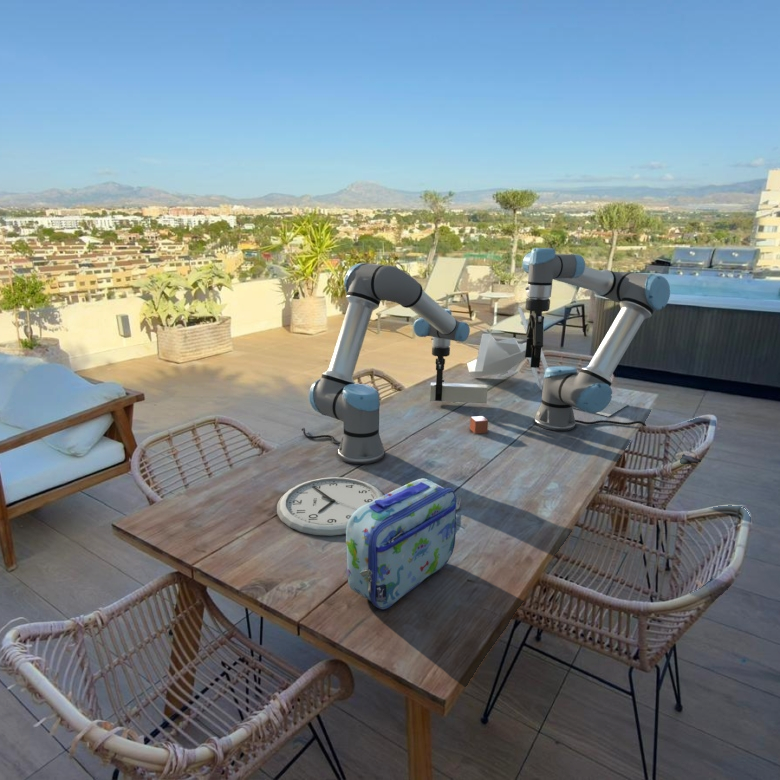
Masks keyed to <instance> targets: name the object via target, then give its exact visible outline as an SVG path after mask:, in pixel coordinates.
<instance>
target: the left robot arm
mask: <svg viewBox="0 0 780 780" xmlns="http://www.w3.org/2000/svg"><path fill="white" fill-rule="evenodd" d="M343 285H344V290H345V292H346V295H345V297H346V300H347V302H348V305H347V308H346V311H345V314H344V318H343V321H342V324H341V327H340V331H339V334H338V337H337V339H336V343H335V347H334V351H333V354H332V357H331V359H330V363H329V366H328V368H327V370H325V371H323V372H322V374H321V377H320V378H318V379H317V380H315V382H313V383H311V386H310V388H309V392H308V400H309V404H310V406H311V408H312V409H313V410H314V411H315V412H317V413H318V414H321V415H322V416H326V417H329V418H332V419H336V420H338V421H341V422H343V434H342V437H341V440H340V441H336V440H335V437H334V436H332V435H330V434H321V435H308V434H307V432H306V429H305V427H302V428H301V431H302V434H303V435H304V437H305V438H308V439H320V438H330V439H331V441H332V443H333V444H335V445H338V449H337V451H338V453H337V454H338V458H339V459H340V460H341V461H343V462H344V463H347V464H352V465H371V464H374V463H377V462H380V461H381V460H382V459H384V457H385V448H384V444H383V442H382V439H381V436H380V408H381V407H380V405H381V402H380V394H379V391H378V390H377V389H376V388H375V387H373V386H372V385H368V384H364V383H362V384H361V383H356V382H355V380H354V378H353V377H354V373H355V371H356V368H357V367H356V366H357V364H358V361H359V357H360V354H361V350H362V347H363V344H364V340H365V337H366V334H367V331H368V329H369V328H368V327H369V325H370V321H371V318H372V315H373V312H374V311H375V310H377V309H379V307H380V304H381V301H385V302H391V303H395V304H398V305H400V306H401V307H402V308H405V309H410V310H411V311H412V312H414V313H415V314H416V315H418V316H419V318H416V320H414V322H413V332H414V334H415V335H416V336H417V337H419V338H426V337H430V340H431V342H432V343H431V344H432V346H431V355H432V356H433V357H437V358H435V371H436V380H435V383H436V385H434V386H436V395H435V401H434V402H443V401H442V383H445V379H444V378H443V377H444V376H443V375H444V371H445V365H446V357H449V356H450V354H451V347H450V346H451V341H452V342H453V341H454V342H462V343H463V342H465V341H467V340H468V338H469V337H470V336H469V335H470V331H471V328H470V325H469V323H467V322H464V321H463V320H462V321H459V320H457V319H456V318H455V317H454V316H453V315H452V311H451V310H450V309H448V308H443V307H442V306H441V305H440V304H439V303H438V302H437V301H435V300H434V299H433V298H432V297H431V296H430V295H429V294H428V293H426V292H425V291H424V289H423V285H422V284H421V283H420V282H419V281H418V280H416V279H415V278H414V277H413V276H411V275H410V274H408V273H407V272H405V271H404V270H402V269H400V268H399V267H397V266H394V265H388V264H376V263H368V262H363V263H356V264H354V265H352V266H351V267H349V269H348V270H347V272H346V274H345V276H344V280H343Z"/></svg>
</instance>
